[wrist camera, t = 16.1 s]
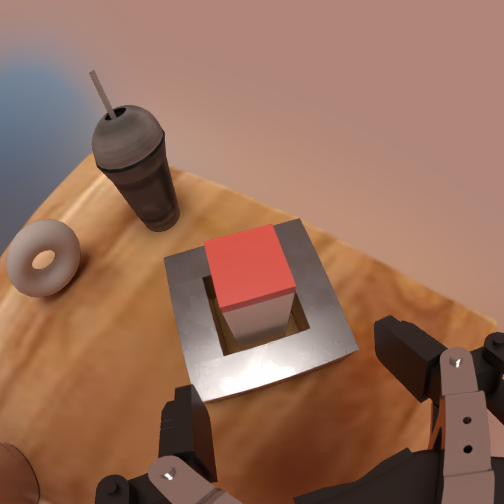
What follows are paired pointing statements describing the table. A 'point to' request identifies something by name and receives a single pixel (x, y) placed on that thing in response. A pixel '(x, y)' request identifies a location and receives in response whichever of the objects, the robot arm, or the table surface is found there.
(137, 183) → the beverage cup
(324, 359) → the square socket housing
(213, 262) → the plug peg
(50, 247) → the donut
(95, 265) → the table surface
